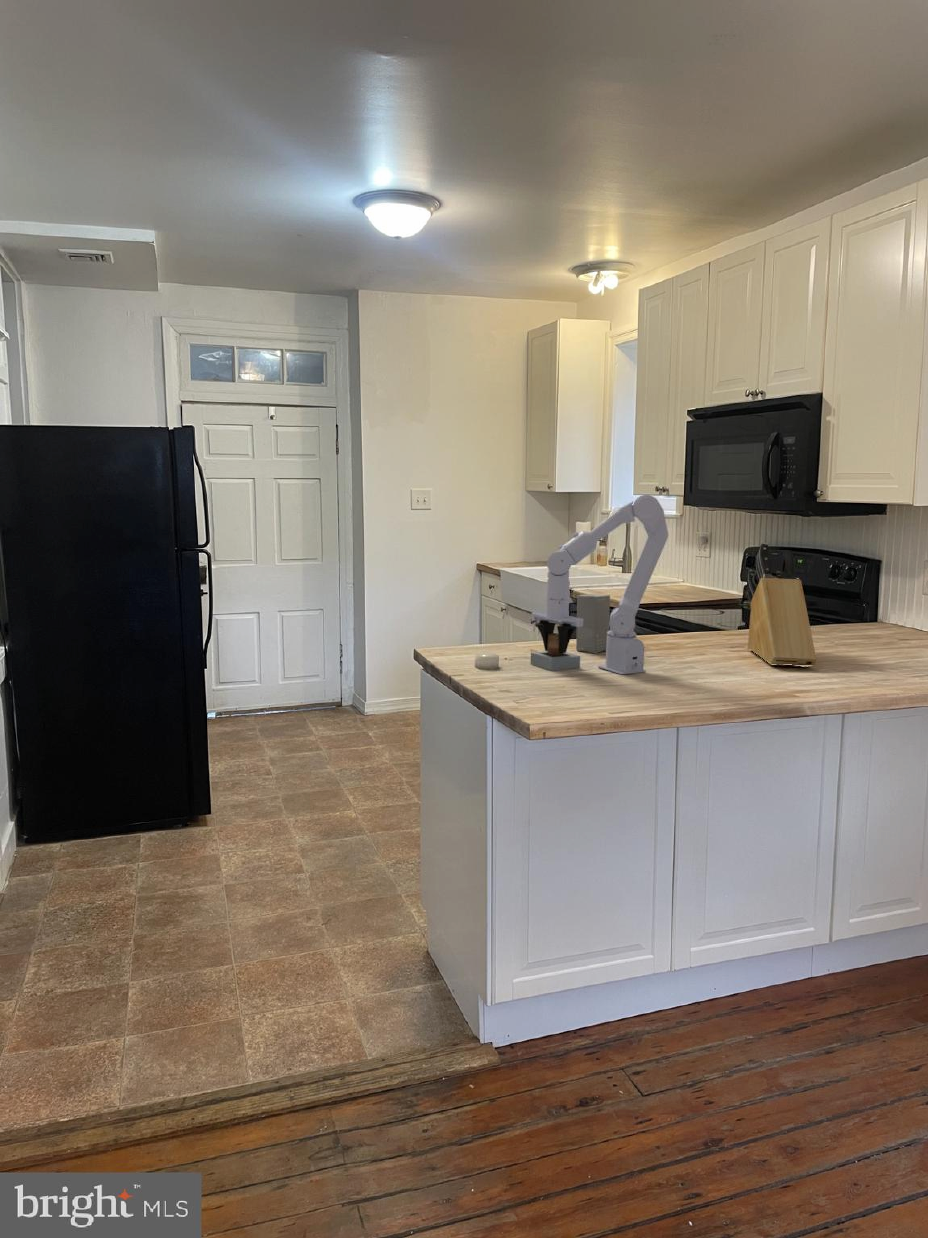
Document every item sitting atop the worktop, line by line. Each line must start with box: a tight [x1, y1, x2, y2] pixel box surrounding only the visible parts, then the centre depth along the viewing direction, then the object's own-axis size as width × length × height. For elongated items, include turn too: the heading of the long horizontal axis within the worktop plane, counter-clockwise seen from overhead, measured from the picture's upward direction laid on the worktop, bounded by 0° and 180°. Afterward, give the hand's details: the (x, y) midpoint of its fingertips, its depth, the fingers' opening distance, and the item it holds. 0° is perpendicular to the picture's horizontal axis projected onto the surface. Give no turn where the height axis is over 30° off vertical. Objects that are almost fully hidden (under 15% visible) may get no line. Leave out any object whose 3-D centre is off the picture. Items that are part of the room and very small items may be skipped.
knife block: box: [746, 542, 817, 666], centre depth 245 cm, size 11×35×31 cm, turn 176°
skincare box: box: [575, 593, 611, 654], centre depth 250 cm, size 8×7×16 cm
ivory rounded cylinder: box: [474, 652, 500, 670], centre depth 226 cm, size 6×6×3 cm
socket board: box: [529, 650, 581, 671], centre depth 228 cm, size 9×9×3 cm
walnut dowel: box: [547, 632, 563, 657], centre depth 228 cm, size 4×4×6 cm
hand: (555, 651), depth 228 cm, fingers closed on walnut dowel, 4 cm apart
